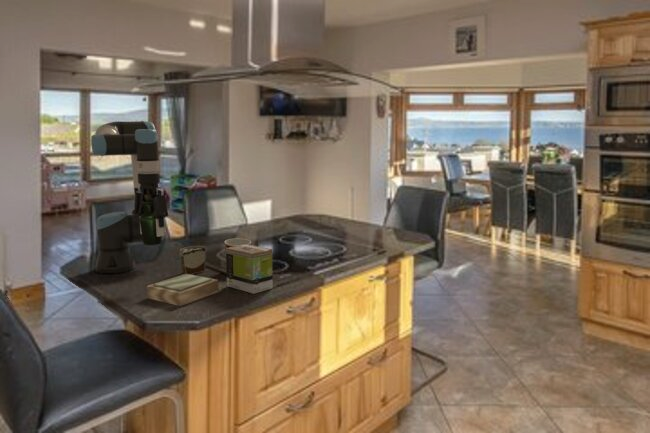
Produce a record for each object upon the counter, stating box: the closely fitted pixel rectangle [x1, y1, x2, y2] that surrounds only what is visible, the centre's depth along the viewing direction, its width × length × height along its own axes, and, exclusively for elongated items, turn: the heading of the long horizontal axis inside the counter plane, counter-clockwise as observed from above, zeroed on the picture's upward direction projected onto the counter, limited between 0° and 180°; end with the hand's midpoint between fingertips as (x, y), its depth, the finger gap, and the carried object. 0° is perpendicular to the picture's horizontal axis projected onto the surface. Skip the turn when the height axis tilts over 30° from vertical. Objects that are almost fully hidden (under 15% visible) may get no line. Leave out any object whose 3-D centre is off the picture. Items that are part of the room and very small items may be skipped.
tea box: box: [225, 244, 274, 294], centre depth 200 cm, size 15×10×15 cm
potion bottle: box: [140, 195, 163, 246], centre depth 200 cm, size 8×8×18 cm
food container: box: [178, 245, 208, 275], centre depth 221 cm, size 12×6×10 cm, turn 141°
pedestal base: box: [146, 274, 220, 307], centre depth 192 cm, size 16×18×5 cm
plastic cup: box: [224, 237, 252, 249], centre depth 224 cm, size 11×11×12 cm
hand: (152, 234), depth 201 cm, fingers closed on potion bottle, 8 cm apart
